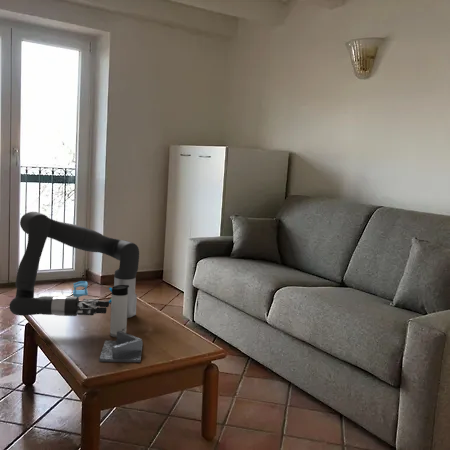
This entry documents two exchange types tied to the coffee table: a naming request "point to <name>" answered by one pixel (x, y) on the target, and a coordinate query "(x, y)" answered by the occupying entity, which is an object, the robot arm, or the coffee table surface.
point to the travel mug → (119, 309)
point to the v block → (122, 349)
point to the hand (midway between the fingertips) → (107, 307)
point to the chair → (80, 292)
